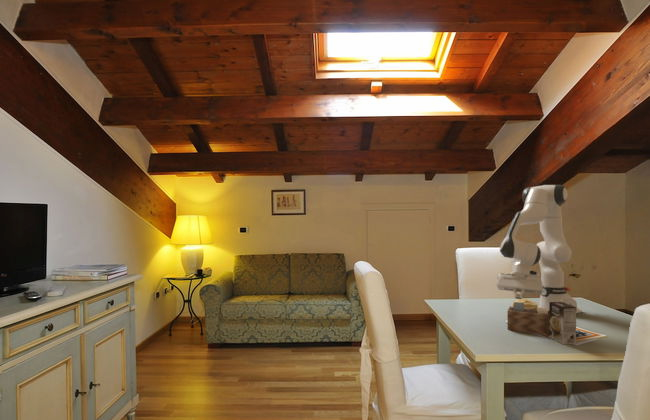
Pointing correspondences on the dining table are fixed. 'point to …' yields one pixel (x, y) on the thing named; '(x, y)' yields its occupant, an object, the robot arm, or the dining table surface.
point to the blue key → (518, 306)
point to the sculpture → (527, 303)
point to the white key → (542, 310)
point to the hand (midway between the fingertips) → (518, 298)
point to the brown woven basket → (528, 321)
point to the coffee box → (562, 322)
